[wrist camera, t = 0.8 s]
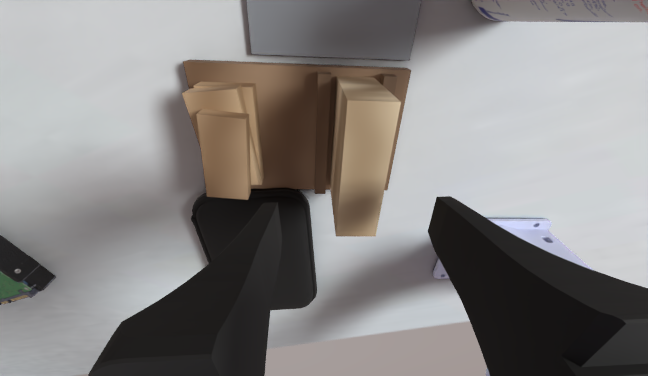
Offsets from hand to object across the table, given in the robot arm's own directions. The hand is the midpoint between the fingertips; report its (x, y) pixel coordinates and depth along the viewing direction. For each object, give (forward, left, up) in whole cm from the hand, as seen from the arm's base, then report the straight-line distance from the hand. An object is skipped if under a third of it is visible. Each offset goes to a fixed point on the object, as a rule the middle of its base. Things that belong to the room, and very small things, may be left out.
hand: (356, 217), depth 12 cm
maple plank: (-1, -1, -8) cm, 8 cm away
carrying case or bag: (+7, +11, -10) cm, 17 cm away
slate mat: (+1, -9, -9) cm, 13 cm away
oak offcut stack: (+7, -1, -8) cm, 11 cm away
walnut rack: (+3, -1, -9) cm, 10 cm away
